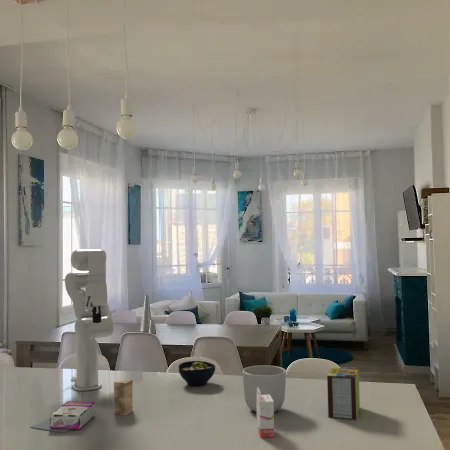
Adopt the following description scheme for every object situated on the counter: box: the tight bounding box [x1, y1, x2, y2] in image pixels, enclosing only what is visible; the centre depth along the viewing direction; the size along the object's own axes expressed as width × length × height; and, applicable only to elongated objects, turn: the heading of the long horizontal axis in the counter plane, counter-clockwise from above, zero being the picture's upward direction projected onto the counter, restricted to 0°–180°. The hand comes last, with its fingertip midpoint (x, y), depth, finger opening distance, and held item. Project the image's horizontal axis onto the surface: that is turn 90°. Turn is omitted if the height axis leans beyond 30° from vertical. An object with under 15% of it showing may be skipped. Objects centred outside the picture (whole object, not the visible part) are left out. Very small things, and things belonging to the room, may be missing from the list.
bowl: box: [178, 360, 216, 388], centre depth 235 cm, size 17×17×10 cm
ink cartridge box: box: [256, 387, 275, 438], centre depth 172 cm, size 9×5×15 cm, turn 5°
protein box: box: [326, 365, 361, 421], centre depth 193 cm, size 10×15×16 cm
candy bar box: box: [49, 400, 96, 430], centre depth 185 cm, size 11×5×16 cm
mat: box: [29, 416, 96, 434], centre depth 185 cm, size 15×17×1 cm
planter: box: [242, 364, 287, 413], centre depth 197 cm, size 17×17×15 cm
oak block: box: [113, 378, 133, 416], centre depth 196 cm, size 5×5×12 cm
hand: (96, 322), depth 214 cm, fingers closed
